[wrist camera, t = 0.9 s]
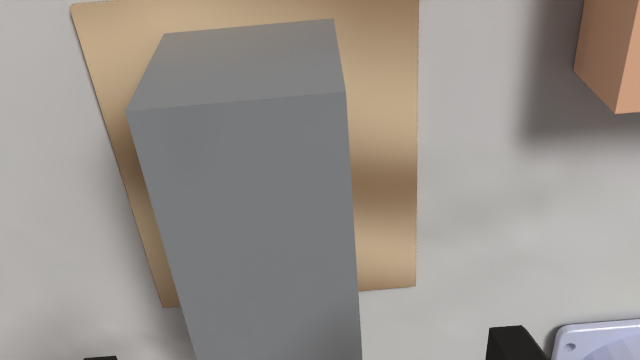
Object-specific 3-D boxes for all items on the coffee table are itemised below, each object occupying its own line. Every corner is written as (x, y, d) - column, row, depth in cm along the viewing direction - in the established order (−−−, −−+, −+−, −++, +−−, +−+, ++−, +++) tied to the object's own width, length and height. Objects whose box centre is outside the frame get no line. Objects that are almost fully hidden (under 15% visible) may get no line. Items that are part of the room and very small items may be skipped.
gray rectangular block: (351, 272, 23) (363, 380, 19) (221, 283, 23) (206, 393, 19) (333, 18, 18) (345, 91, 14) (164, 33, 18) (124, 111, 14)
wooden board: (414, 281, 24) (415, 286, 24) (163, 302, 24) (162, 307, 24) (417, -27, 17) (419, -24, 17) (72, 4, 18) (69, 7, 17)
